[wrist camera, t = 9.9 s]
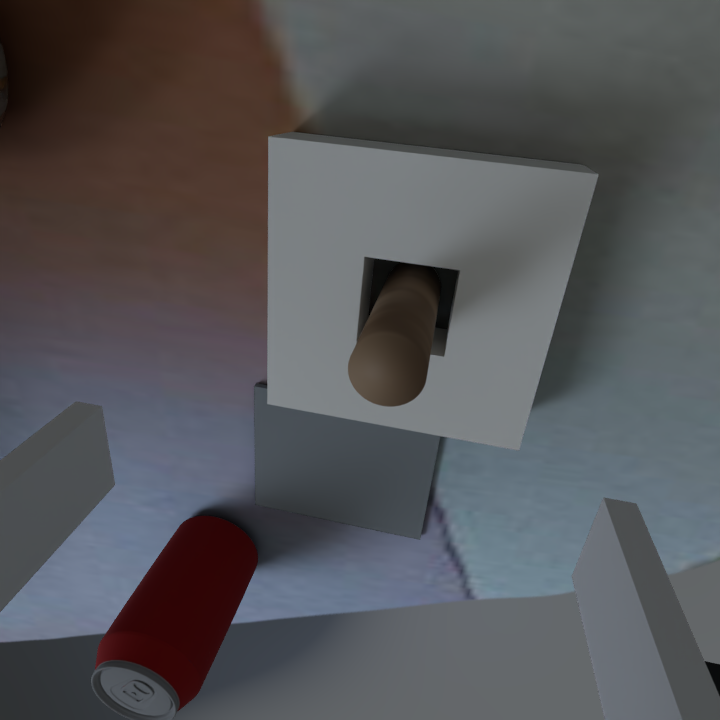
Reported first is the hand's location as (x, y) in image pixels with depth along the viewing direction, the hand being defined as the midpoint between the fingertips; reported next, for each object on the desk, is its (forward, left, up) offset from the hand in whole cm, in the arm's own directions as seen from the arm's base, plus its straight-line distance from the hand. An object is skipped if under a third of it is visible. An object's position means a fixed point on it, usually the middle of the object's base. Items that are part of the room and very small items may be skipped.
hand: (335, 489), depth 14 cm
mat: (-3, -13, -17) cm, 21 cm away
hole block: (0, 0, -17) cm, 17 cm away
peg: (0, 0, -17) cm, 17 cm away
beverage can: (-12, -23, -17) cm, 31 cm away
